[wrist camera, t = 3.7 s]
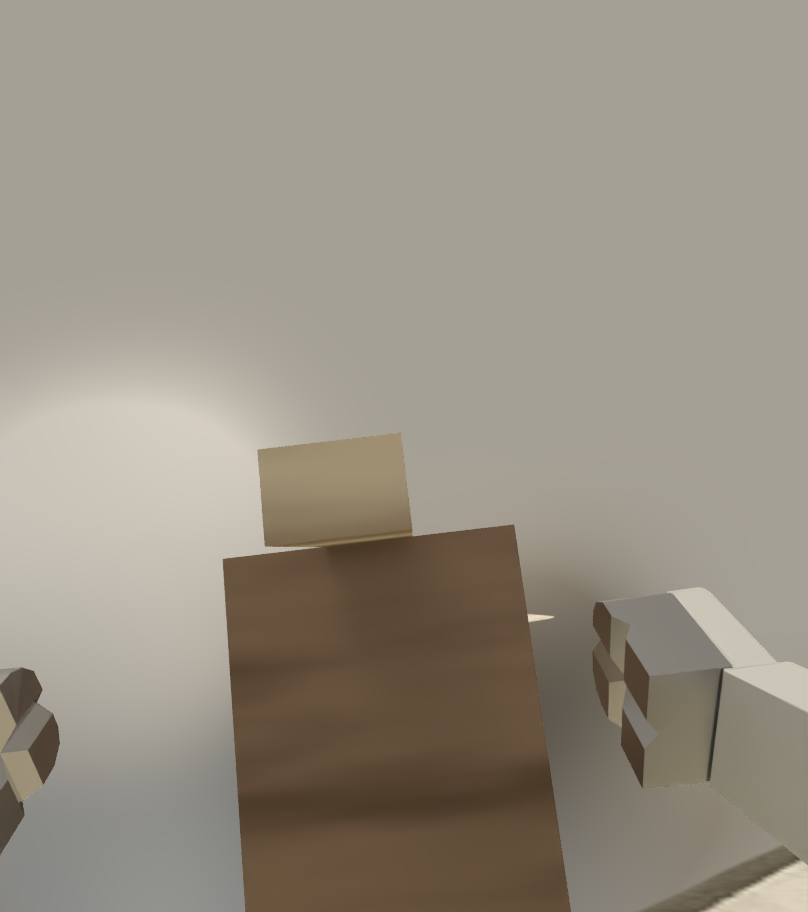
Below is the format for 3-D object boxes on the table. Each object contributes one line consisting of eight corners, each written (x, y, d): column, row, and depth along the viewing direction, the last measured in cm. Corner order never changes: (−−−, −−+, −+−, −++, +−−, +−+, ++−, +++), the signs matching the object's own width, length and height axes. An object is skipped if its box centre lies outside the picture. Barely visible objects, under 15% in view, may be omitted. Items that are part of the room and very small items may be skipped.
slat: (411, 528, 12) (400, 432, 12) (265, 546, 12) (257, 449, 12) (412, 540, 30) (407, 503, 31) (356, 547, 30) (352, 509, 31)
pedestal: (663, 1539, 15) (514, 524, 19) (288, 1586, 15) (222, 559, 19) (577, 1199, 23) (484, 531, 27) (331, 1230, 23) (277, 555, 27)
